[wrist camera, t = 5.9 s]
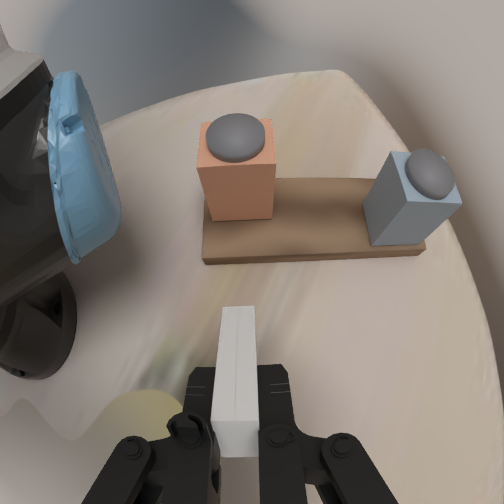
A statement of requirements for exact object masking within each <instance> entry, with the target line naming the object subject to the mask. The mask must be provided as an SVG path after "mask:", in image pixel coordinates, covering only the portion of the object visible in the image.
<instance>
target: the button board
mask: <svg viewBox="0 0 504 504" xmlns="http://www.w3.org/2000/svg"><path fill="white" fill-rule="evenodd" d="M375 180H376V179H365V178H275V187H274V201H273V214H272V219H254V220H230V221H213V220H212V217H211V214H210V210H209V207H208V204H207V201H206V197H205V201H204V222H203V249H202V259H203V261H204V262H205V264H206V265H213V264H241V263H267V262H291V261H314V260H337V259H358V258H378V257H397V256H416V255H419V254H421V253H422V252H423V251H424V250H426V246H425V241H424V240H423V241H422V242H421V243H420V244H412V245H385V246H371V243H370V238H369V232H368V227H367V223H366V218H365V213H364V209H363V204H362V203H363V201H364V200H365V198H366V196H367V194H368V193H369V191H370V189H371V187H372V185H373V184H374V182H375Z"/></svg>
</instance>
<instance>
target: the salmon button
mask: <svg viewBox="0 0 504 504" xmlns="http://www.w3.org/2000/svg"><path fill="white" fill-rule="evenodd" d="M197 170H198V174H199V177H200V181H201V184H202V187H203V191H204V194H205V197H206V201H207V204H208V207H209V210H210V214H211V217H212V220H213V221H230V220H254V219H272V214H273V201H274V187H275V173H276V157H275V147H274V138H273V129H272V120H271V119H256V118H255V117H253V116H250V115H247V114H240V113H235V114H228V115H225V116H222V117H220V118H218V119H216V120H215V121H213V122H205V123H201V129H200V138H199V148H198V158H197Z"/></svg>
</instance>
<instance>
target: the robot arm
mask: <svg viewBox="0 0 504 504" xmlns="http://www.w3.org/2000/svg"><path fill="white" fill-rule="evenodd" d="M120 221H121V205H120V199H119V195H118V190H117V187H116V183H115V179H114V176H113V172H112V168H111V165H110V161H109V158H108V155H107V151H106V148H105V145H104V141H103V138H102V135H101V131H100V128H99V125H98V122H97V119H96V116H95V113H94V109H93V106H92V104H91V101H90V98H89V95H88V93H87V90H86V89H85V87H84V84H83V81H82V78H81V76H80V75H79V74H78V73H77V72H75V71H68V72H60V73H58V74H57V75H56V76H55V78H54V77H52V76H51V74H50V72H49V70H48V67H47V65H46V63H45V61H44V59H43V58H42V56H41V55H40V54H33V53H28V52H22V51H15V50H13V49H12V48H11V47H10V46H9V44H8V42H7V40H6V37H5V35H4V33H3V31H2V28H1V25H0V367H1V368H2V369H4V370H6V371H7V372H9V373H11V374H12V375H14V376H17V377H20V378H24V379H43V378H46V377H49V376H50V375H52V374H53V373H55V372H56V371H57V370H58V369H59V368H60V367H61V366H62V364H63V363H64V361H65V360H66V358H67V356H68V354H69V352H70V349H71V347H72V344H73V340H74V335H75V329H76V305H75V299H74V295H73V291H72V288H71V286H70V284H69V282H68V280H67V278H66V277H65V275H64V274H63V273H62V272H61V271H63V270H65V269H66V268H68V267H70V266H71V265H73V264H74V265H75V264H78V263H79V262H80V261H81V260H82V257H83V256H85V255H87V254H88V253H90V252H91V251H93V250H94V249H96V248H97V247H99V246H101V245H102V244H104V243H105V242H107V241H109V240H110V239H111V238H112V237H113V236H114V235H115V233H116V232H117V230H118V227H119V225H120ZM167 428H168V430H169V432H170V434H171V436H170V437H168V438H164V439H160V440H155V441H149V442H147V441H146V440H145V439H143V438H142V437H138V436H129V437H126V438H124V439H122V440H121V441H120V442H119V443H118V444H117V446H116V447H115V449H114V451H113V452H112V454H111V456H110V457H109V459H108V460H107V462H106V464H105V465H104V467H103V469H102V470H101V472H100V474H99V475H98V477H97V479H96V480H95V482H94V484H93V485H92V487H91V489H90V490H89V492H88V493H87V495H86V497H85V498H84V500H83V502H82V504H161V503H162V504H220V488H221V466H220V454H221V457H259V483H260V504H307V496H306V488H305V483H306V484H312V485H315V487H316V489H317V491H318V493H319V495H320V498H321V500H322V502H323V504H398V502H397V500H396V499H395V497H394V496H393V494H392V492H391V491H390V489H389V488H388V486H387V485H386V483H385V481H384V480H383V478H382V477H381V475H380V473H379V472H378V470H377V469H376V467H375V465H374V464H373V462H372V461H371V459H370V457H369V456H368V454H367V452H366V451H365V449H364V448H363V446H362V444H361V443H360V441H359V440H358V439H357V438H356V437H355V436H353V435H351V434H348V433H337V434H333V435H331V436H330V437H328V438H327V439H326V438H319V437H313V436H309V435H306V434H304V433H303V432H301V431H300V430H299V429H298V427H297V426H296V424H295V421H294V414H293V407H292V400H291V393H290V386H289V379H288V372H287V371H286V370H285V368H284V367H283V366H282V364H273V365H257V346H256V328H255V309H254V306H234V307H223V311H222V319H221V328H220V337H219V345H218V354H217V363H216V367H196V368H195V369H194V370H193V372H192V373H191V374H190V376H189V380H188V385H187V390H186V396H185V401H184V406H183V412H181V413H179V414H176V415H174V416H173V417H172V418H171V419H170V420H169V421H168V423H167Z"/></svg>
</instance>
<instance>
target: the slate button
mask: <svg viewBox="0 0 504 504" xmlns="http://www.w3.org/2000/svg"><path fill="white" fill-rule="evenodd" d="M362 204H363V209H364V213H365V218H366V223H367V227H368V232H369V238H370V243H371V246H385V245H412V244H420V243H421V242H422V241H423V240H424V239H425V238H427V237H428V236H429V235H430V234H431V233H432V232H433V231H434V230H435V229H436V228H438V227H439V226H440V225H441V224H442V223H443V222H444V221H445V220H446V219H447V218H448V217H449V216H450V215H451V214H452V213H453V212H454V211H455V210H456V209H458V208H459V207H460V205H462V201H461V198H460V195H459V192H458V190H457V187H456V184H455V177H454V174H453V171H452V169H451V167H450V166H449V164H448V163H447V162H446V160H445V158H444V157H441V156H440V155H438V154H437V153H435V152H433V151H431V150H428V149H417V150H414V151H413V152H412V153H406V152H396V151H391V152H390V154H389V156H388V157H387V159H386V161H385V163H384V165H383V167H382V169H381V171H380V173H379V174H378V176H377V178H376V180H375V182H374V184H373V185H372V187H371V189H370V191H369V193H368V194H367V196H366V198H365V200H364V201H363V203H362Z"/></svg>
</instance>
